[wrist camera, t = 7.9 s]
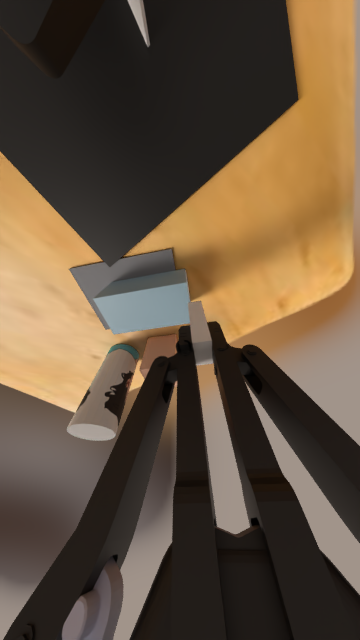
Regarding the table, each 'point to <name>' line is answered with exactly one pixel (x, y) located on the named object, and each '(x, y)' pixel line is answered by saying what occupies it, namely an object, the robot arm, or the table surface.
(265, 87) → the black-topped pedestal
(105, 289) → the slate-blue block
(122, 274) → the charcoal mat
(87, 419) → the white patterned canister
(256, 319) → the table surface
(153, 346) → the terracotta block
